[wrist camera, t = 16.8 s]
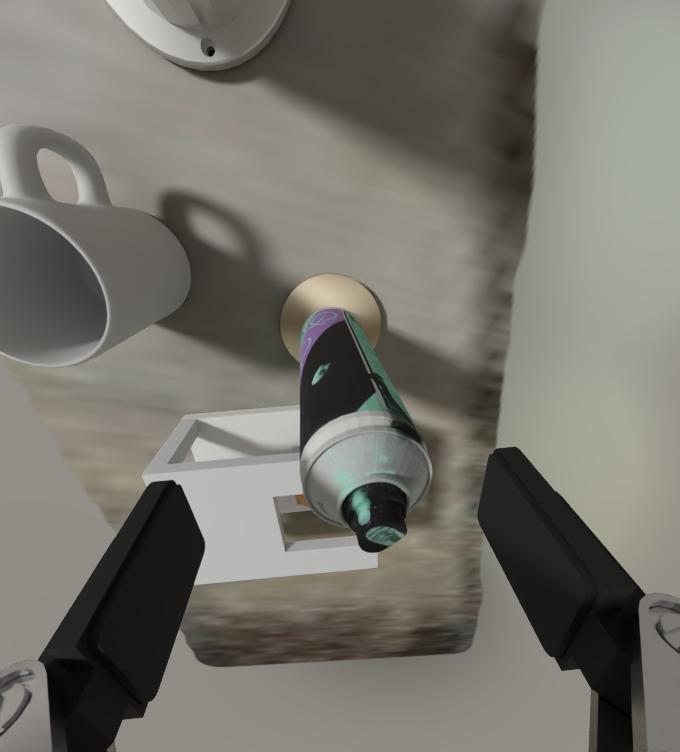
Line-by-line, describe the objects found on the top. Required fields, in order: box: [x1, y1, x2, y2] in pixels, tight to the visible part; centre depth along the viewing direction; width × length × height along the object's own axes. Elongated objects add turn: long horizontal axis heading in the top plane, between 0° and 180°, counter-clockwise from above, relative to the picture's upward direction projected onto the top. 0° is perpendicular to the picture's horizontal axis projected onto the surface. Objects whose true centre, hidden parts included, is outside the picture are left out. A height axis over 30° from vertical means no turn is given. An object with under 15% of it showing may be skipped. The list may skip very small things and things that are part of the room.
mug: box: [0, 124, 191, 368], centre depth 20 cm, size 12×8×11 cm
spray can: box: [300, 307, 433, 553], centre depth 19 cm, size 6×6×20 cm
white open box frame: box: [142, 405, 378, 585], centre depth 31 cm, size 14×18×8 cm
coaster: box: [280, 274, 381, 363], centre depth 28 cm, size 9×9×1 cm
